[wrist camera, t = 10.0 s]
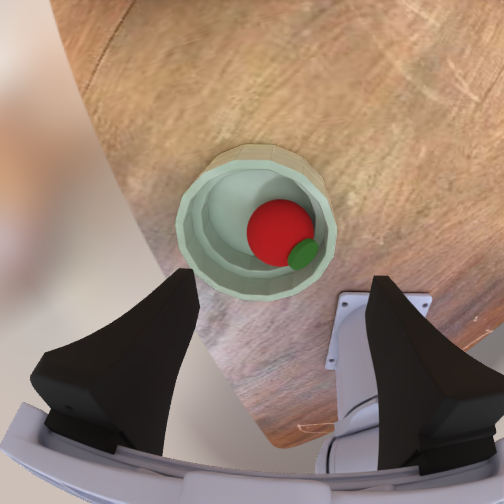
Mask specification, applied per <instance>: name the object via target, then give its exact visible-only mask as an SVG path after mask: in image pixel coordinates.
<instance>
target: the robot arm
mask: <svg viewBox="0 0 504 504" xmlns="http://www.w3.org/2000/svg"><path fill="white" fill-rule="evenodd" d="M343 302H347V303H346V304H342V303H343ZM431 302H432V297H431V295H430V294H428V293H402V291H401V290H400V289H399V288H398V287H397V286H396V284H395V283H394V282H393V281H392V280H391V279H390V277H389V276H374V277H373V281H372V286H371V290H370V293H368V292H343V293H341V294H340V296H339V300H338V305H337V310H336V315H335V320H334V325H333V330H332V335H331V340H330V344H329V349H328V353H327V358H326V362H325V368H326V369H328V370H335V371H336V388H337V408H338V420H339V421H337V422H335V436H332V437H329V438H328V439H326V440H325V442H324V443H323V445H322V447H321V450H320V452H319V454H318V456H317V460H316V468H315V474H297V473H273V472H260V471H248V470H238V469H230V468H222V467H215V466H209V465H202V464H197V463H191V462H186V461H180V460H175V459H170V458H166V457H162V454H163V446H164V439H165V431H166V426H167V420H168V415H169V410H170V405H171V400H172V396H173V391H174V387H175V383H176V379H177V376H178V373H179V370H180V367H181V364H182V362H183V359H184V356H185V354H186V351H187V348H188V346H189V343H190V340H191V338H192V335H193V332H194V330H195V326H196V322H197V318H198V314H199V309H200V304H199V299H198V293H197V288H196V282H195V276H194V270H193V269H184V268H179V269H178V270H176V271H175V272H174V273H173V274H172V275H171V276H170V277H168V278H167V279H166V280H165V281H164V282H163V283H162V284H161V285H160V286H159V287H157V288H156V289H155V290H154V291H153V292H152V293H151V294H149V295H148V296H147V297H146V298H144V299H143V300H142V301H141V302H139V303H138V304H137V305H136V306H134V307H133V308H132V309H131V310H130V311H128V312H127V313H125V314H124V315H122V316H121V317H119V318H118V319H116V320H115V321H113V322H112V323H110V324H109V325H107V326H105V327H103V328H101V329H100V330H98V331H96V332H94V333H92V334H91V335H89V336H86V337H84V338H82V339H80V340H78V341H75V342H73V343H71V344H69V345H66V346H63V347H60V348H57V349H54V350H51V351H48V352H45V353H44V355H43V356H42V358H41V360H40V361H39V363H38V364H37V366H36V368H35V369H34V371H33V372H32V374H31V376H30V381H31V383H32V386H33V387H34V389H35V390H36V392H37V393H38V394H39V395H40V396H41V397H42V399H43V400H44V401H45V402H46V403H47V404H48V406H49V407H50V408H51V410H50V412H49V414H47V413H45V412H44V411H42V410H41V409H38V408H36V407H34V406H32V405H29V404H27V403H25V402H23V403H22V404H21V406H20V408H19V409H18V411H17V413H16V415H15V417H14V419H13V421H12V423H11V424H10V426H9V429H8V430H7V432H6V434H5V437H4V438H3V440H2V442H1V444H0V450H1V451H2V452H3V453H5V454H6V455H7V456H9V457H10V458H11V459H13V460H14V461H15V462H17V463H18V464H19V465H21V466H22V467H24V468H25V469H26V470H28V471H29V472H31V473H32V474H34V475H36V476H38V477H39V478H41V479H43V480H45V481H46V482H48V483H50V484H52V485H54V486H56V487H58V488H60V489H62V490H64V491H66V492H68V493H70V494H72V495H74V496H76V497H78V498H80V499H83V500H85V501H87V502H89V503H92V504H504V438H502V439H499V440H498V441H496V442H494V439H493V435H495V434H496V428H495V423H496V422H497V421H498V420H499V419H500V418H501V417H502V416H503V415H504V375H502V374H501V373H499V372H497V371H495V370H493V369H491V368H489V367H487V366H485V365H484V364H482V363H481V362H479V361H477V360H476V359H474V358H473V357H471V356H469V355H468V354H467V353H465V352H464V351H463V350H461V349H460V348H459V347H457V346H456V345H455V344H453V343H452V342H451V341H450V340H448V339H447V338H446V337H445V336H444V335H443V334H442V333H440V332H439V331H438V330H437V329H436V328H435V327H434V326H433V325H432V324H431V323H430V322H429V321H428V320H427V319H426V318H425V317H426V314H427V312H428V309H429V307H430V304H431ZM425 303H426V304H425ZM423 304H424V305H423Z"/></svg>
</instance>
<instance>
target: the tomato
mask: <svg viewBox="0 0 504 504" xmlns="http://www.w3.org/2000/svg"><path fill="white" fill-rule="evenodd" d="M313 239H314V228H313V223H312V220H311V218H310V216H309V215H308V213H307V212H306V211H305V210H304V209H303V208H302V207H301V206H300V205H298V204H297V203H295V202H293V201H289V200H285V199H275V200H271V201H268V202H266V203H264V204H262V205H261V206H259V207H258V208H257V209H256V210H255V211H254V212H253V214H252V215H251V217H250V219H249V221H248V225H247V241H248V244H249V247H250V249H251V250H252V252H253V253H254V255H255V256H256V257H257V258H258V259H260V260H261V261H262V262H264V263H266V264H268V265H271V266H277V267H284V266H290V267H291V268H292V269H293V270H300V269H302V268H304V267H306V266H307V265H308V264H309V263H310V262H311V261H312V260H313V259H314V257H315V256H316V254H317V252H318V248H319V246H318V244H317V242H315V241H314V240H313Z"/></svg>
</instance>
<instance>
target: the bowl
mask: <svg viewBox="0 0 504 504" xmlns="http://www.w3.org/2000/svg"><path fill="white" fill-rule="evenodd" d="M275 199H285V200H289V201H293V202H295V203H297V204H298V205H300V206H301V207H302V208H303V209H304V210H305V211H306V212H307V213H308V215H309V216H310V218H311V220H312V223H313V228H314V239H313V240H314V241H315V242H317V244H318V246H319V248H318V252H317V254H316V256H315V257H314V259H313V260H312V261H311V262H310V263H309V264H308V265H307V266H306V267H304V268H302V269H300V270H293V269H292V268H291V267H290V266H284V267H277V266H271V265H268V264H266V263H264V262H262V261H261V260H260V259H258V258H257V257H256V256H255V255H254V253H253V252H252V250H251V249H250V247H249V244H248V241H247V225H248V221H249V219H250V217H251V215H252V214H253V212H254V211H255V210H256V209H257V208H258V207H259V206H261V205H262V204H264V203H266V202H268V201H271V200H275ZM175 227H176V233H177V239H178V245H179V249H180V252H181V253H182V255H183V256H184V258H185V260H186V261H187V263H188V264H189V266H190V268H191V269H193V270H194V273H195V274H196V275H197V276H198V277H200V278H201V279H202V280H203V281H205V282H206V283H207V284H208V285H210V286H211V287H212V288H214V289H216V290H217V291H220V292H222V293H225V294H227V295H230V296H233V297H236V298H238V299H242V300H252V301H274V300H277V299H281V298H285V297H289V296H293V295H296V294H298V293H300V292H301V291H303V290H304V289H305V288H307V287H308V286H310V285H311V284H313V283H314V282H316V281H317V280H318V279H319V278H320V277H321V275H322V274H323V272H324V271H325V269H326V268H327V266H328V264H329V263H330V261H331V260H332V258H333V256H334V252H335V244H336V236H337V224H336V220H335V216H334V211H333V207H332V203H331V200H330V197H329V194H328V192H327V189H326V186H325V183H324V180H323V178H322V177H321V175H320V174H319V173H318V172H317V171H316V170H315V169H314V168H313V167H312V166H311V165H310V164H309V163H308V162H307V161H306V160H305V159H304V158H303V157H302V156H300V155H298V154H296V153H293V152H291V151H289V150H286V149H284V148H282V147H279V146H277V145H273V144H245V145H244V144H243V145H240V146H238V147H236V148H233V149H231V150H228V151H226V152H224V153H221V154H219V155H218V156H216V157H215V158H214V159H213V160H212V161H211V162H210V164H209V165H208V166H207V167H206V168H205V169H204V170H203V171H202V172H201V173H200V174H199V176H198V177H197V178H196V179H195V181H194V182H193V183H192V184H191V185H190V187H189V188H188V189H187V190H186V192H185V193H184V194H183V196H182V199H181V203H180V206H179V209H178V213H177V216H176V220H175Z"/></svg>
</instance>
